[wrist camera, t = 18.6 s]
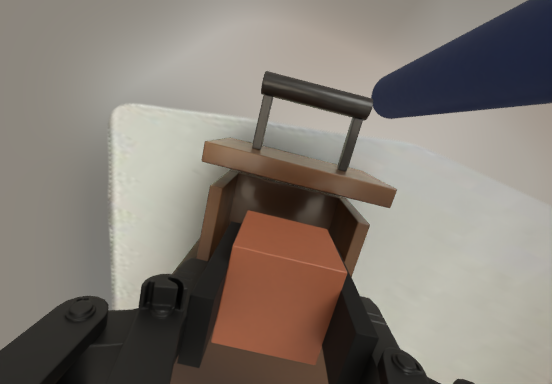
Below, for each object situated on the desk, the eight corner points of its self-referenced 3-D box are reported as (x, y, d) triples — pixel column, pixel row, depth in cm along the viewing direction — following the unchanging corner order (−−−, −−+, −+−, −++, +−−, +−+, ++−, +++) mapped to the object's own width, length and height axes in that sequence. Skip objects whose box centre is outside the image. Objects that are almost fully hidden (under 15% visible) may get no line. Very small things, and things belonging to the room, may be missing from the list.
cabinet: (206, 228, 24) (165, 281, 16) (336, 259, 24) (363, 327, 16) (182, 352, 28) (138, 449, 19) (296, 378, 28) (301, 484, 20)
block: (247, 209, 14) (232, 245, 10) (327, 228, 14) (348, 272, 10) (231, 281, 15) (210, 343, 11) (305, 298, 16) (315, 366, 11)
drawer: (242, 74, 20) (221, 47, 13) (382, 111, 20) (430, 102, 14) (201, 278, 24) (170, 334, 18) (317, 306, 25) (329, 370, 18)
